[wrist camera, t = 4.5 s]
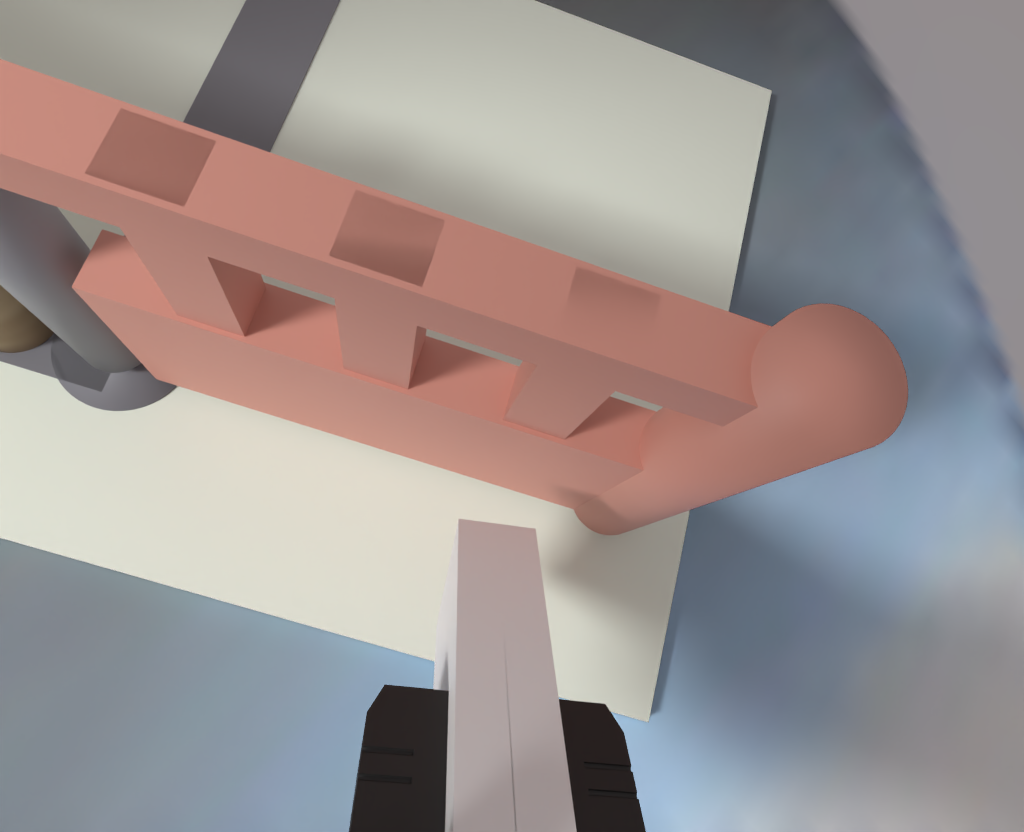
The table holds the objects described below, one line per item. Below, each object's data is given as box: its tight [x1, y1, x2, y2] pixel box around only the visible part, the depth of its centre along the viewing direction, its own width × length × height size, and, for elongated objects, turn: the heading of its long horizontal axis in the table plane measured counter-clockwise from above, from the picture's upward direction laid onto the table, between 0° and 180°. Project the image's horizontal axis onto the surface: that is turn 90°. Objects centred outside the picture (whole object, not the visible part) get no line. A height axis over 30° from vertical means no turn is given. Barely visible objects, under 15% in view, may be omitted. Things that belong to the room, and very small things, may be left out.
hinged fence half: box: [0, 59, 908, 535], centre depth 13 cm, size 14×2×10 cm, turn 74°
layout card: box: [0, 0, 772, 722], centre depth 19 cm, size 32×20×1 cm, turn 74°
